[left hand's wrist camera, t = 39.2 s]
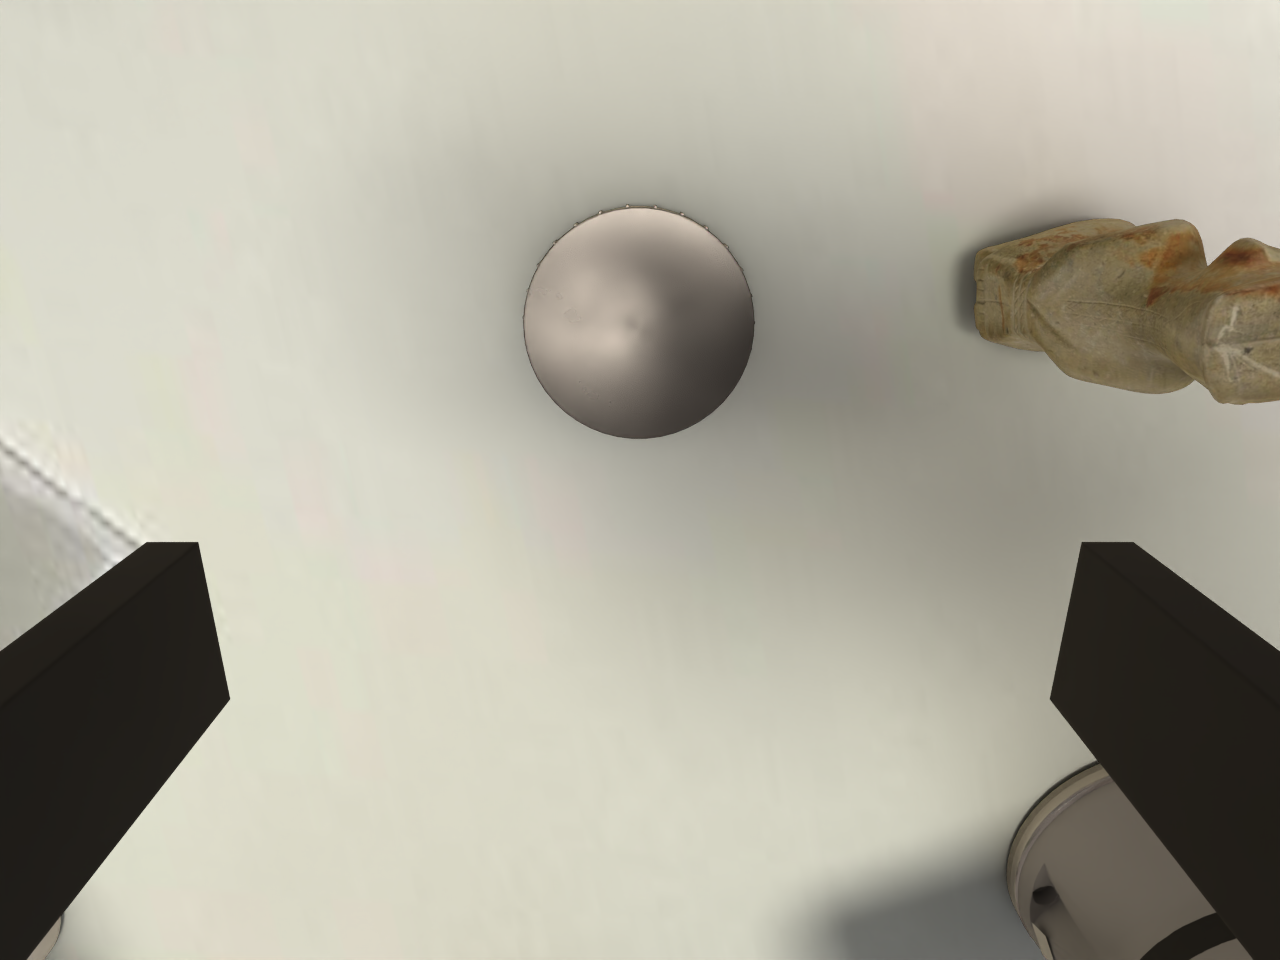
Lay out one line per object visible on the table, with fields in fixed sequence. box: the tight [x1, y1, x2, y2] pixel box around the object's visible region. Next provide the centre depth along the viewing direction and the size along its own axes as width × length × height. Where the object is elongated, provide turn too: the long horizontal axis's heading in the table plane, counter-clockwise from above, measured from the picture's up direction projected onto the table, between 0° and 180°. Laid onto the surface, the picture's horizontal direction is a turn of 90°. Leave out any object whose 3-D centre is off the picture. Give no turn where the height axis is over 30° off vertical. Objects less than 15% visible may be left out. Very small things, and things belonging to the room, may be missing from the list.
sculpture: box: [974, 219, 1280, 405], centre depth 29 cm, size 6×7×15 cm
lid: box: [523, 204, 755, 439], centre depth 36 cm, size 10×10×2 cm
